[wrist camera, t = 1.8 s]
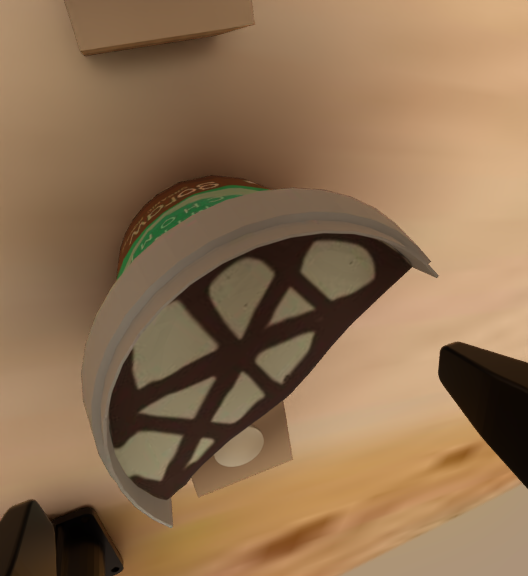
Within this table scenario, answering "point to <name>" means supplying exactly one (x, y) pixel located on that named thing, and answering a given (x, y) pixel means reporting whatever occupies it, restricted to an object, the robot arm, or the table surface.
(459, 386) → the robot arm
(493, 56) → the table surface
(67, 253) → the table surface
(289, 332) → the food container
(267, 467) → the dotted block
